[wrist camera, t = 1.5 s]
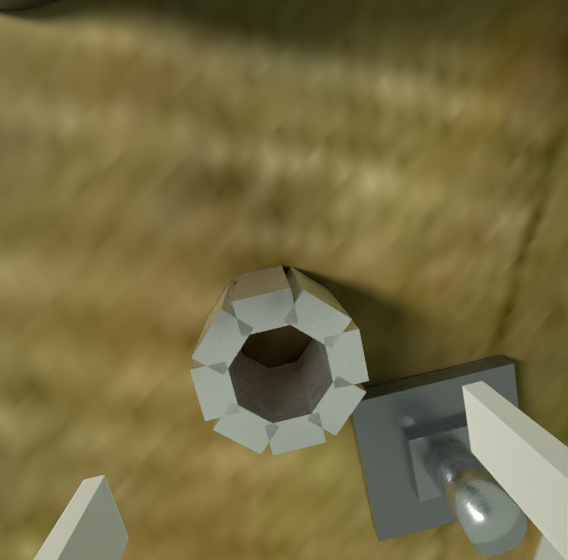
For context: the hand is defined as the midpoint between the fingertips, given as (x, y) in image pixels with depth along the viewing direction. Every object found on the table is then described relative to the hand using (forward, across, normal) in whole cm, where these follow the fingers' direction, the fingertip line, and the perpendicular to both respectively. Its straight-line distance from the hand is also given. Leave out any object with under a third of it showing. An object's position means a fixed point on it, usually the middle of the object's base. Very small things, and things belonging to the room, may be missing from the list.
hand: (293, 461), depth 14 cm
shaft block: (+14, +10, -12) cm, 21 cm away
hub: (+14, 0, 0) cm, 14 cm away
